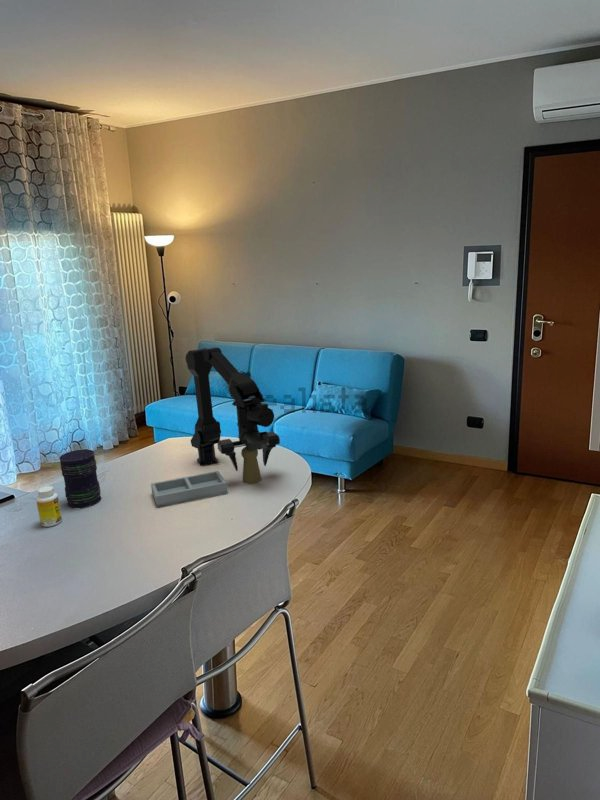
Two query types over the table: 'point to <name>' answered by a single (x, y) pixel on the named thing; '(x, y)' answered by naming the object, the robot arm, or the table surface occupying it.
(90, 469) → the storage jar
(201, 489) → the caddy
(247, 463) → the olive rounded piece
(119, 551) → the table surface
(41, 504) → the supplement bottle
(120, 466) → the table surface
